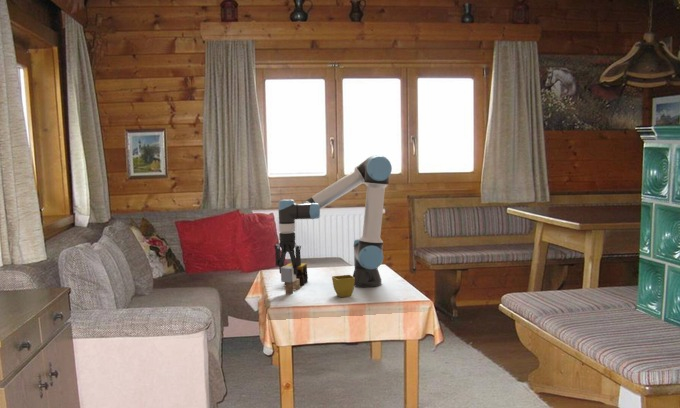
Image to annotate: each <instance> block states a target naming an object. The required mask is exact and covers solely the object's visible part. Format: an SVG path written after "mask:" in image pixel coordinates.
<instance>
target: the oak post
mask: <svg viewBox="0 0 680 408" xmlns="http://www.w3.org/2000/svg"><path fill="white" fill-rule="evenodd" d="M300 289H301V286H300V279H296V281H294V282H293V291H298V290H300Z"/></svg>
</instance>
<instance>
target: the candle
mask: <svg viewBox="0 0 680 408" xmlns="http://www.w3.org/2000/svg"><path fill="white" fill-rule="evenodd" d="M284 266H285V267H286V266H292V267H293V265H292V262H291V263H287V264H286V265H284ZM308 278H309V276H308V264H307V262H305V263H302V262H301V266H299V267H297V274H296V279H300V287H301V286H305V285H306V284H307V283H308V280H309V279H308ZM283 284H284V286H285V282H283Z"/></svg>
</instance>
